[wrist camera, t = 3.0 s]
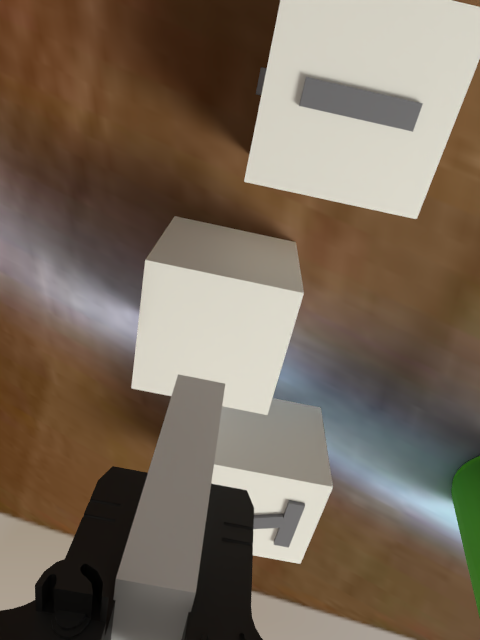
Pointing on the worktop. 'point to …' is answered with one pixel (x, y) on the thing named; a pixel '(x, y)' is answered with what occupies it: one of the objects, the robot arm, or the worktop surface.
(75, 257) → the worktop surface
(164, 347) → the plain block
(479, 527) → the cup
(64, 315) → the worktop surface
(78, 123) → the worktop surface
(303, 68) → the digit block 1
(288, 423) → the letter t cube
